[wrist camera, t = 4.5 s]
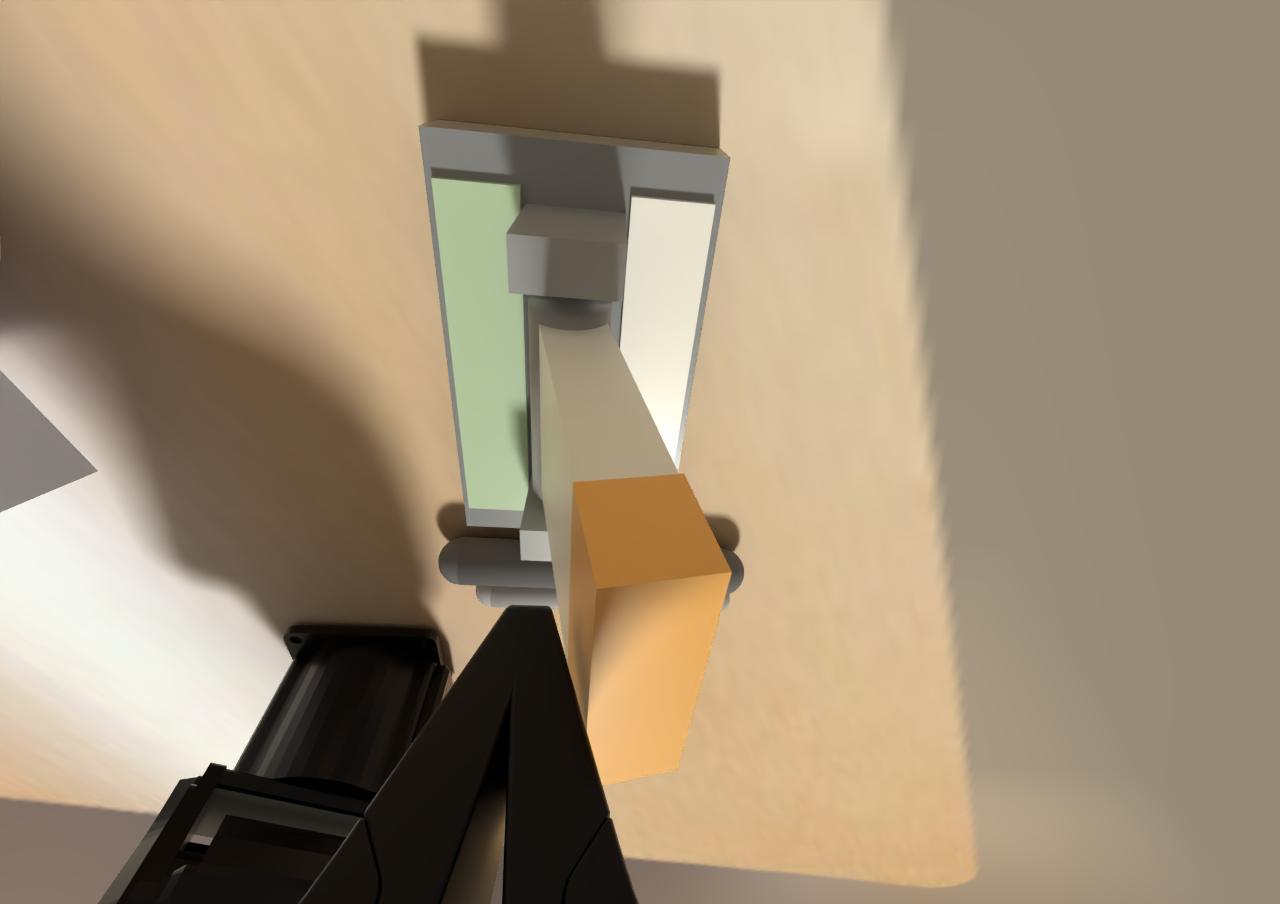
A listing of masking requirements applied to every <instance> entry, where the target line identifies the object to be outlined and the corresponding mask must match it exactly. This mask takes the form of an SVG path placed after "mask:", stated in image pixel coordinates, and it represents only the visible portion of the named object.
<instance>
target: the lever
mask: <svg viewBox="0 0 1280 904" xmlns="http://www.w3.org/2000/svg"><path fill="white" fill-rule="evenodd" d="M611 319H612V302H611V301H601V300H588V299H576V298H563V297H550V296H538V295H530V296H529V298H528V326H529V365H530V405H531V444H532V483H533V491H534V493H535V494H536V496H537V497H538V498H540V499H541V500H542V501H543V506H544V513H545V520H546V526H547V533H548V540H549V546H550V553H551V560H552V567H553V573H554V580H555V587H556V593H557V600H558V607H559V614H560V620H561V627H562V634H563V640H564V647H565V654H566V661H567V664H568V668H569V671H570V675H571V678H572V682H573V685H574V689H575V692H576V696H577V699H578V703H579V706H580V710H581V713H582V717H583V720H584V724H585V727H586V731H587V734H588V738H589V741H590V745H591V748H592V751H593V755H594V758H595V762H596V765H597V769H598V772H599V776H600V779H601V783H602V786H603V785H608V784H613V783H617V782H622V781H627V780H631V779H636V778H641V777H645V776H650V775H655V774H659V773H664V772H669V771H673V770H678V766H679V763H680V759H681V756H682V752H683V748H684V745H685V741H686V737H687V734H688V730H689V726H690V723H691V719H692V715H693V712H694V708H695V705H696V701H697V697H698V694H699V690H700V686H701V683H702V679H703V675H704V672H705V668H706V664H707V661H708V657H709V654H710V650H711V646H712V643H713V639H714V635H715V632H716V628H717V624H718V621H719V617H720V613H721V610H722V606H723V603H724V599H725V595H726V592H727V588H728V584H729V581H730V577H731V573H732V571H731V569H730V567H729V565H728V563H727V561H726V559H725V557H724V555H723V553H722V551H721V549H720V547H719V545H718V543H717V540H716V538H715V536H714V534H713V532H712V530H711V528H710V526H709V524H708V522H707V520H706V518H705V516H704V514H703V512H702V510H701V508H700V506H699V504H698V501H697V499H696V497H695V495H694V493H693V491H692V489H691V487H690V485H689V483H688V481H687V479H686V477H685V475H684V474H679V473H678V470H677V468H676V466H675V464H674V462H673V460H672V458H671V456H670V454H669V451H668V449H667V447H666V445H665V443H664V441H663V439H662V437H661V435H660V433H659V430H658V428H657V426H656V424H655V422H654V420H653V418H652V416H651V414H650V412H649V409H648V407H647V405H646V403H645V401H644V399H643V397H642V395H641V393H640V391H639V388H638V386H637V384H636V382H635V380H634V378H633V376H632V374H631V372H630V370H629V367H628V365H627V363H626V361H625V359H624V357H623V355H622V353H621V351H620V349H619V346H618V344H617V342H616V340H615V338H614V336H613V334H612V332H611Z"/></svg>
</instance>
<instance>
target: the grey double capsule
mask: <svg viewBox="0 0 1280 904" xmlns="http://www.w3.org/2000/svg"><path fill="white" fill-rule="evenodd" d="M720 549H721V551H722V553H723V555H724V557H725V559H726V561H727V563H728V565H729V567H730V569H731V571H732V573H731V577H730V581H729V584H728V588H727V592H726V595H725V599H724V603H723V606H722V610H721V613H722V612H723V611H724V610H725V609H726V608H727V606H728V604H729V599H730V597H729V594H730V593H732V592H734V591H735V590H736V589H737V588H738V587H739V586H740V585H741V583H742V581H743V577H744V567H743V564H742V562H741V560H740V559H739V557H738V556H737V555H736V554H735V553H733V552H732V551H730V550H727V549H722V548H720ZM438 562H439V569H440V572H441V574H442V575H443V576H444V578H446V579H447V580H448V581H449V582H451V583H454V584H459V585H477V586H476V595H477V598H478V599H479V601H480V602H481V603H482V604H484V605H486V606H488V607H505V608H507V607H508V606H510V605H542V606H549V607H550V608H551V609H559V607H558V600H557V593H556V587H555V580H554V573H553V567H552V561H529V560H521V551H520V539H502V538H480V537H459V538H456V539H453V540H451V541H450V542H448V543H447V544H446V545H445V546H444V547H443V549H442V551H441V552H440V555H439V561H438Z"/></svg>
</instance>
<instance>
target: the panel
mask: <svg viewBox="0 0 1280 904" xmlns="http://www.w3.org/2000/svg"><path fill="white" fill-rule="evenodd" d="M419 133H420V141H421V149H422V158H423V166H424V174H425V183H426V191H427V199H428V207H429V216H430V224H431V232H432V241H433V249H434V257H435V266H436V274H437V282H438V290H439V299H440V307H441V315H442V324H443V332H444V340H445V348H446V357H447V365H448V373H449V382H450V390H451V398H452V407H453V415H454V423H455V431H456V440H457V448H458V456H459V465H460V473H461V481H462V490H463V498H464V506H465V514H466V523H467V526H483V527H504V528H520V551H521V560H529V561H552V560H551V553H550V546H549V540H548V533H547V526H546V520H545V513H544V506H543V501H542V500H541V499H540V498H538V497H537V496H536V494H535V493H534V491H533V483H532V444H531V405H530V365H529V326H528V298H529V296H530V295H538V296H550V297H563V298H576V299H588V300H601V301H611V302H612V319H611V332H612V334H613V336H614V338H615V340H616V342H617V344H618V346H619V349H620V351H621V353H622V355H623V357H624V359H625V361H626V363H627V365H628V367H629V370H630V372H631V374H632V376H633V378H634V380H635V382H636V384H637V386H638V388H639V391H640V393H641V395H642V397H643V399H644V401H645V403H646V405H647V407H648V409H649V412H650V414H651V416H652V418H653V420H654V422H655V424H656V426H657V428H658V430H659V433H660V435H661V437H662V439H663V441H664V443H665V445H666V447H667V449H668V451H669V454H670V456H671V458H672V460H673V462H674V464H675V466H676V468H677V470H678V468H679V462H680V456H681V450H682V444H683V438H684V432H685V426H686V420H687V414H688V408H689V402H690V396H691V390H692V384H693V378H694V372H695V366H696V360H697V354H698V348H699V342H700V336H701V330H702V324H703V318H704V312H705V306H706V300H707V294H708V288H709V282H710V276H711V270H712V264H713V258H714V252H715V246H716V240H717V234H718V228H719V222H720V216H721V210H722V204H723V198H724V192H725V186H726V180H727V174H728V168H729V162H730V157H729V156H728V155H727V154H726V153H725V152H724V151H722V150H721V149H720V148H711V147H701V146H691V145H682V144H672V143H662V142H653V141H643V140H633V139H623V138H614V137H604V136H594V135H585V134H575V133H565V132H555V131H546V130H536V129H526V128H516V127H507V126H497V125H487V124H478V123H468V122H458V121H448V120H439V119H438V120H435V121H432V122H429V123H426V124H423V125H419Z"/></svg>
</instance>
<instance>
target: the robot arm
mask: <svg viewBox="0 0 1280 904" xmlns="http://www.w3.org/2000/svg"><path fill="white" fill-rule="evenodd" d="M283 638H284V641H285V644H286V646H287V648H288V650H289V652H290V655H291V657H292V659H293V661H292V663H291V665H290V667H289V669H288V671H287V672H286V674H285V676H284V678H283V680H282V682H281V683H280V685H279V687H278V689H277V691H276V693H275V694H274V696H273V698H272V700H271V702H270V704H269V705H268V707H267V709H266V711H265V713H264V715H263V716H262V718H261V720H260V722H259V724H258V726H257V727H256V729H255V731H254V733H253V735H252V737H251V738H250V740H249V742H248V744H247V746H246V748H245V749H244V751H243V753H242V755H241V757H240V759H239V760H238V762H237V764H236V766H235V768H234V770H229V769H226V768H227V766H225V765H220V764H216V763H210V765H209V766H208V768H207V770H206V771H205V773H204V775H203V776H198V777H196V778H189V779H181V780H180V781H179V782H178V784H177V785H176V787H175V789H174V790H173V792H172V794H171V795H170V797H169V799H168V800H167V802H166V803H165V805H164V807H163V808H162V810H161V812H160V813H159V815H158V816H157V818H156V820H155V821H154V823H153V824H152V826H151V828H150V829H149V831H148V832H147V834H146V835H145V837H144V838H143V840H142V841H141V843H140V844H139V846H138V847H137V848H136V850H135V851H134V853H133V854H132V856H131V857H130V858H129V860H128V861H127V863H126V864H125V866H124V867H123V869H122V870H121V871H120V873H119V874H118V876H117V877H116V879H115V880H114V882H113V883H112V884H111V886H110V887H109V889H108V890H107V892H106V893H105V894H104V896H103V897H102V899H101V900H100V902H99V903H98V904H491V899H492V895H493V890H494V886H495V881H496V876H497V872H498V867H499V862H500V858H501V854H502V849H503V845H504V870H503V897H502V904H639V902H638V900H637V897H636V895H635V892H634V889H633V886H632V883H631V880H630V876H629V873H628V870H627V867H626V864H625V861H624V858H623V855H622V851H621V848H620V845H619V841H618V838H617V834H616V831H615V827H614V824H613V820H612V819H611V818H609V817H610V811H609V807H608V804H607V800H606V797H605V793H604V790H603V786H602V783H601V779H600V776H599V772H598V769H597V765H596V762H595V758H594V755H593V751H592V748H591V745H590V741H589V738H588V734H587V731H586V727H585V724H584V720H583V717H582V713H581V710H580V706H579V703H578V699H577V696H576V692H575V689H574V685H573V682H572V678H571V675H570V671H569V668H568V664H567V661H566V657H565V654H564V650H563V647H562V643H561V640H560V636H559V633H558V629H557V626H556V623H555V619H554V616H553V612H552V609H551V608H550V607H549V606H542V605H510V606H508V607H507V608H506V609H505V610H504V612H503V613H502V615H501V616H500V618H499V619H498V621H497V622H496V623H495V625H494V626H493V628H492V629H491V631H490V632H489V634H488V635H487V636H486V638H485V639H484V641H483V642H482V644H481V645H480V646H479V648H478V649H477V651H476V652H475V654H474V655H473V657H472V658H471V659H470V661H469V662H468V664H467V665H466V667H465V668H464V670H463V671H462V672H461V674H460V675H459V677H458V678H457V680H456V681H455V682H454V684H453V682H452V676H451V671H450V669H449V668H448V667H447V665H444V659H443V654H442V649H441V644H440V638H439V635H438V634H437V633H436V632H434V631H432V630H427V629H397V628H366V627H335V626H304V625H295V626H291V627H289V629H288V630H287V632H286V634H285V635H284V637H283ZM194 834H195V835H200V836H207V837H212V838H213V840H212V842H211V844H210V846H209V845H203V844H198V843H192V842H190V841H191V839H192V837H193V835H194Z"/></svg>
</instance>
